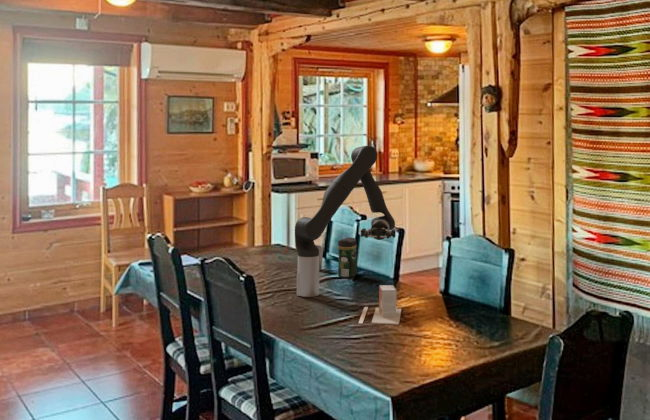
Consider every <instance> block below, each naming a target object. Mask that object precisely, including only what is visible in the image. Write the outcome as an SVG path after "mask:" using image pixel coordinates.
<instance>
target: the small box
mask: <svg viewBox="0 0 650 420" xmlns="http://www.w3.org/2000/svg"><path fill="white" fill-rule="evenodd" d="M397 292H398V291H397V289H396V287H395V285H391V284H389V285H388V284H387V285H386V284H385V285H383V284H380V285H379V287H378V294H379V295H378V308H379V312H380V314H381V316H382V317H396V308H397Z"/></svg>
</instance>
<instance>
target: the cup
mask: <svg viewBox="0 0 650 420" xmlns="http://www.w3.org/2000/svg"><path fill="white" fill-rule="evenodd" d="M315 245H316V246H317V247H318V249H319V271H322V265H323V251H324V249H325V248H324V247H323V245H321V244H315Z"/></svg>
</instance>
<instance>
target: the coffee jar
mask: <svg viewBox="0 0 650 420" xmlns="http://www.w3.org/2000/svg"><path fill="white" fill-rule="evenodd" d="M337 242H338V243H337V249H338V265H337V266H338V270H337V276H338V277H340V278H343V279H344V278H353V277H355V276H356V275H357V274H358V271H357V269H358V268H357V239H356V238H355V237H345V238H343V239H341V238H340V240H338V241H337Z"/></svg>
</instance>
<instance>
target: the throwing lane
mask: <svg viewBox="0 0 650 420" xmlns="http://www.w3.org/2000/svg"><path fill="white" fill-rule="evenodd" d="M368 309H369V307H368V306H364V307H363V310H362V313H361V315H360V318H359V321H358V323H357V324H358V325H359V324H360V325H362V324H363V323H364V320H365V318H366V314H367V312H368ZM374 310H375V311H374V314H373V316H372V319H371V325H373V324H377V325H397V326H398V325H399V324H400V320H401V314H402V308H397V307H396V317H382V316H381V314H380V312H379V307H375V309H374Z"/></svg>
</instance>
